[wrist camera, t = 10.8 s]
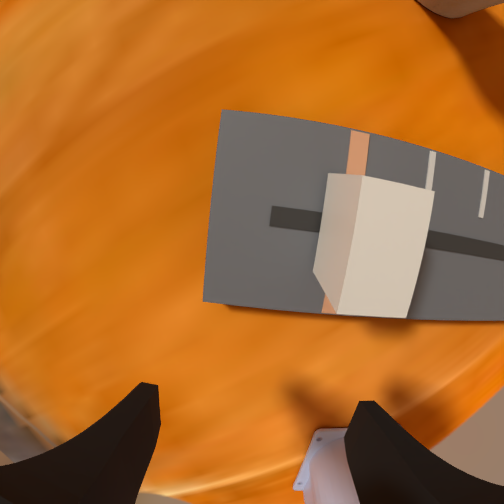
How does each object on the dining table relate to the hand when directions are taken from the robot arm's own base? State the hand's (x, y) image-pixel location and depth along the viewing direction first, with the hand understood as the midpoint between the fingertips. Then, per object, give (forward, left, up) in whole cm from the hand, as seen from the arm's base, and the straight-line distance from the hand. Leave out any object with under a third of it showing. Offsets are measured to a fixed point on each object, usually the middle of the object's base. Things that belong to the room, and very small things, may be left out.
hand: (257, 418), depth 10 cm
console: (+6, -10, -9) cm, 15 cm away
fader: (+6, -4, -7) cm, 10 cm away
